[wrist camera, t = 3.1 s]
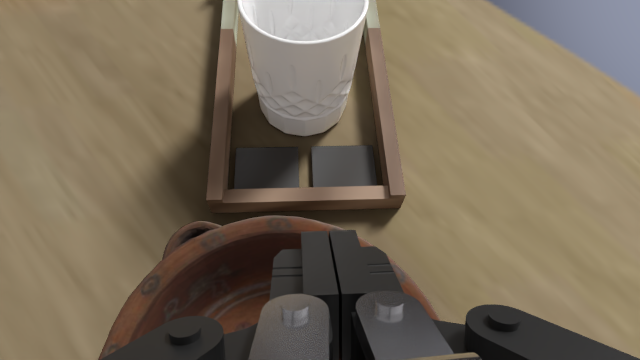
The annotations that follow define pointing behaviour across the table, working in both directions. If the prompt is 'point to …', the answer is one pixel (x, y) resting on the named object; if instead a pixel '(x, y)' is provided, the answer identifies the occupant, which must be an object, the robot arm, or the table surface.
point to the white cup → (303, 59)
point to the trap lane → (282, 162)
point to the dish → (220, 276)
